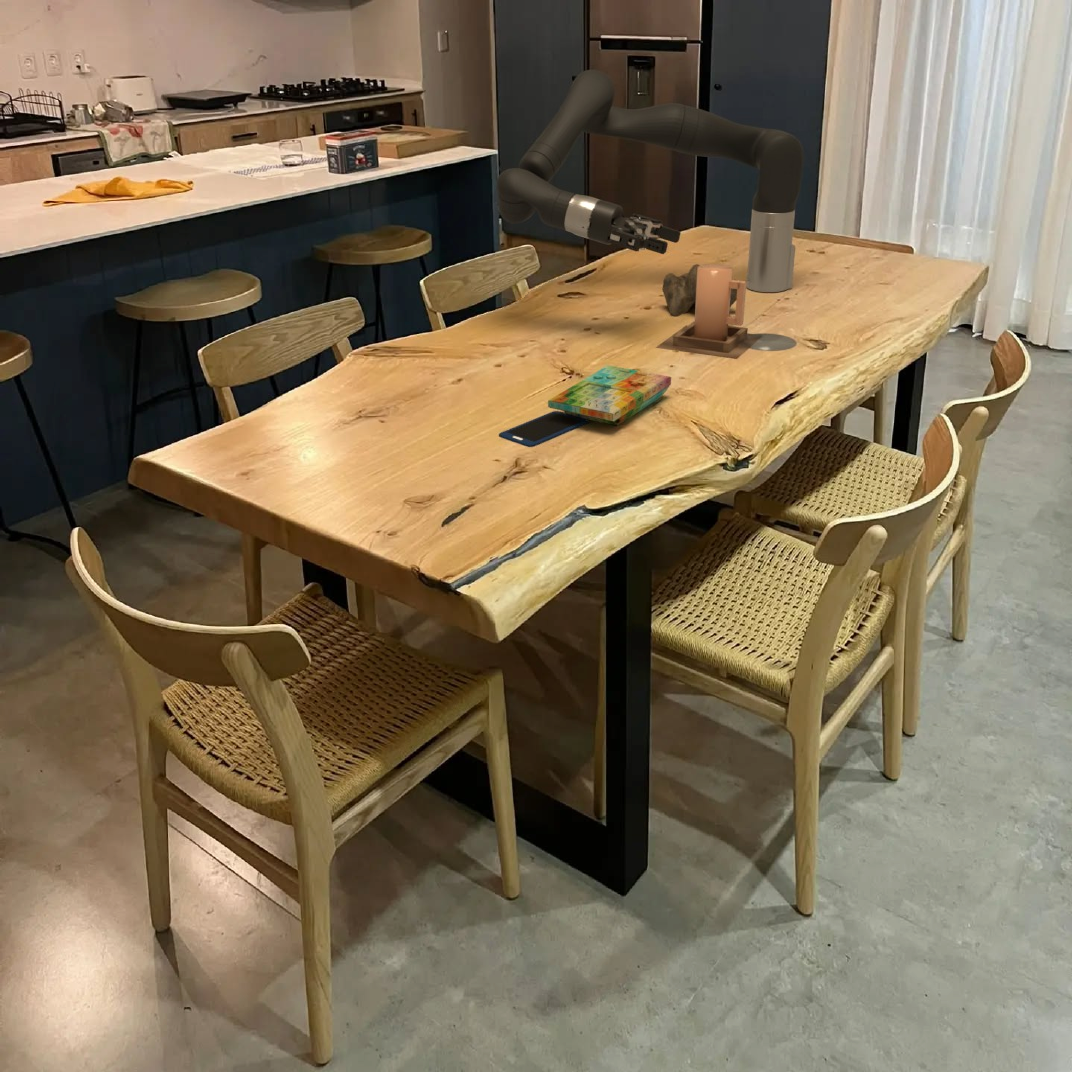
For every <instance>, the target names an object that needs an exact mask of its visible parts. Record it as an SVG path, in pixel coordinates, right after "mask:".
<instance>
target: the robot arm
mask: <svg viewBox="0 0 1072 1072" xmlns="http://www.w3.org/2000/svg"><path fill="white" fill-rule="evenodd" d="M615 95H616V88H615V84H614V81H613V80H612V78H611V77H610V76H609V75H608V74H606V73H605V72H603V71H601V70H598V69H587V70H583V71H582V72H581V73H579V74H578V75H577V76H576V77H575V78H574V79H573V82H572V84H571V85H570V89H569V92H568V93H567V96H566V98H565V99H564V100H563V102H562V104H561V106H560V107H559V109H558V111H557V112H556V114H555V115H554V117H553V118H552V119H551V121H550V122H549V123H548V125H547V126H546V127H545V129H544V130H543V131H542V133H541V134H540V135H539V136H538V137H537V139H536V140H535V142H533V144H532V145H531V146H530V148H529V149H528V150H527V151H526V152H525V154H524V155H523V156H522V158H521V159H520V161H519V164H518V168H517V167H515V168H514V167H512V168H508V169H505V170H504V171H501V173H500V174H499V175H498V178H497V179H496V180H497V181H496V191H497V193H496V194H497V200H498V201H497V203H498V211H499V214H500V215H501V218H502V219H503V220H504V221H506V222H507V223H510V224H522V223H524V222H525V221H527V220H529V219H530V218H531V217H532V216H533V215H534V214H535V212H536V211H537V214H538V216H539V219H540V221H541V222H542V223H543V224H545V225H547V226H550V227H553V228H556V229H559V230H563V231H566V232H569V233H571V234H573V235H576V236H578V237H582V238H585V239H587V240H591V241H595V242H598V243H601V244H604V245H616V246H619V247H621V248H625V249H628V250H631V251H634V252H639V251H640V250H641V251H643V250H644V251H645V250H648V251H650V252H651V251H652V252H655V253H658V254H662V255H664V254H666V252H667V250H668V245H669V244H668V242H671V243H674V244H675V243H678V242H679V241H680V237H681V231H680V230H678V229H675V228H672V227H671V228H670V227H667V226H665V225H664V224H663V221H662V220H661V219H655V218H652V217H648V216H645V215H641V214H637V213H633V214H632V216H629V217H628V216H627V217H626V216H624V214H623V213H624V210H623V207H622V206H621V205H620V204H616V203H613V202H610V201H606V200H603V199H598V198H596V197H593V196H589V195H582V194H577V193H574V192H570V191H566V190H563V189H560V188H558V187H556V186H555V185H553V184H551V183H550V181H551V180H552V179H553V178H554V177H555V175H556V174H557V173H558V171H559V170H560V168H561V167H562V166H563V165H564V163H565V161H566V160H567V158H568V156H569V154H571V153H570V152H571V151H572V149H573V147H574V146H575V143H576V142H577V140H578V139H579V136H580V135H581V133H587V134H592V135H599V136H606V137H611V138H618V139H625V140H630V141H634V142H639V143H645V144H648V145H652V146H656V147H660V148H662V149H663V148H664V149H666V150H670V151H675V152H678V153H680V154H681V153H682V154H685V155H690V156H696V157H703V158H704V157H706V158H721V159H729V160H732V161H735V162H738V163H741V164H744V165H747V166H749V167H752V168H755V169H757V170H759V171H758V172H759V173H758V180H757V190H756V191H755V194H754V196H753V198H752V205H751V207H752V208H751V221H750V234H749V244H748V245H749V248H748V260H747V261H748V262H747V274H746V289H749V290H750V291H755V292H758V293H759V292H760V293H777V292H778V293H779V292H784V291H786V290H789V289H792V287H793V280H794V279H793V278H794V277H793V276H794V267H795V256H796V245H795V244H793V237H794V226H795V225H794V224H795V215H796V213H795V212H796V205H797V200H798V199H799V196H800V191H801V184H802V183H801V182H802V177H803V176H802V175H803V167H804V149H803V145H802V143H801V141H800V140H799V139H798V138H797V137H796V136H795V135H793V134H791V133H789V132H786V131H784V130H781V129H774V128H773V129H772V128H764V127H757V126H750V125H745V124H740V123H737V122H734V121H731V120H729V119H727V118H724V117H722V116H720V115H718V114H715V113H713V112H710V111H707V110H704V109H701V108H698V107H697V108H696V107H694V106H690V105H687V104H686V105H685V104H682V103H675V102H670V103H669V102H668V103H663V104H657V105H651V106H648V107H643V108H637V109H633V108H631V109H630V108H622V107H618V106H613V104H614V100H615ZM663 225H664V226H663ZM653 228H654V229H653ZM667 241H668V242H667Z"/></svg>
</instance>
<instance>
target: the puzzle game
mask: <svg viewBox="0 0 1072 1072" xmlns="http://www.w3.org/2000/svg"><path fill="white" fill-rule="evenodd" d="M671 384H672V377H671V376H668V375H664V374H658V373H652V372H648V371H641V370H637V369H631V368H624V367H619V366H614V365H609V364H608V365H606V366H604V367H603V368H601V369H599V370H598V371H596V372H594V373H593V374H590V375H588V376H587V377H586V378H584V379H582V380H581V381H579V382H577V383H576V384H574V385H572V386H570V387H569V388H567V389H565V390H564V391H562V392H560V393H559V394H557V395H556V396H553V397H551V398H550V399H549V400H548V401H547V407H548V408H550V409H554V410H556V411H561V412H564V413H566V414H570V415H573V416H576V417H579V418H583V419H586V420H588V421H593V422H599V423H603V424H609V425H613V426H617V427H618V426H619V425H622V423H624V422H626V421H627V420H628V419H630V418H632V417H634V416H635V415H636V414H637V413H639V412H641V411H643V410H644V409H645V408H647V407H648V406H650V405H651V404H653V403H654V402H656V401H658V400H659V399H660V398H662V397H663V395H664V394H665V393H666V392H667V391H668V389H669V388H670V386H671Z"/></svg>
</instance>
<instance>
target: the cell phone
mask: <svg viewBox="0 0 1072 1072" xmlns="http://www.w3.org/2000/svg"><path fill="white" fill-rule="evenodd" d="M588 423H589V419H584V418H579V417H576V416H573V415H570V414H566V413H565V412H564V411H561V410H553V411H550V412H548V413H545V414H543V415H541V416H539V417H538V416H537V417H536V418H533V419H531V420H529V421H526V422H524V423H522V424H517V426H513V427H512V428H508V429H506V430H504V431H501V432H500V433H499V434H498V437H499V438H501V439H504V440H507V441H510V442H513V443H515V444H519V445H521V446H524V447H527V448H533V447H537V446H539V445H542V444H544V443H546V442H548V441H550V440H552V439H555V438H558V437H560V436H563V435H564V434H567V433H569V432H571V431H574V430H576V429H578V428H580V427H583V426H585V425H587V424H588Z"/></svg>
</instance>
